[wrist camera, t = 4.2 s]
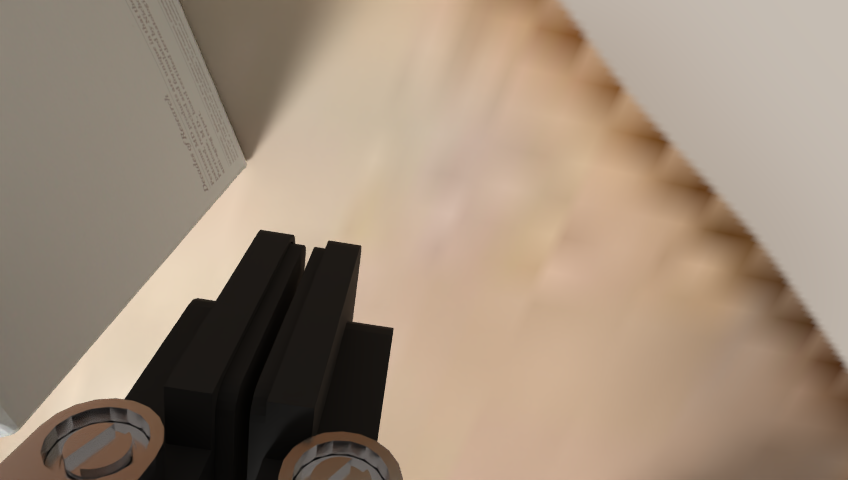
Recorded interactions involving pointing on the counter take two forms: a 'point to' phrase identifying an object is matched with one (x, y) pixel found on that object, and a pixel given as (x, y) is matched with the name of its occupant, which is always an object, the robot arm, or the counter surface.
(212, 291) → the counter surface
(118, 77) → the supplement box
